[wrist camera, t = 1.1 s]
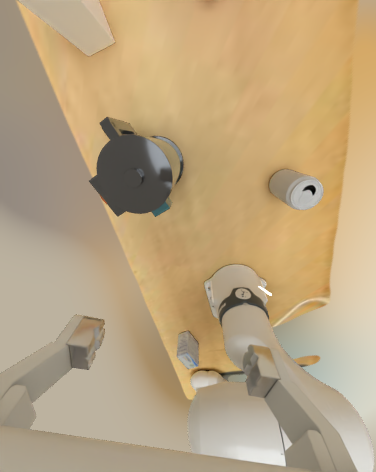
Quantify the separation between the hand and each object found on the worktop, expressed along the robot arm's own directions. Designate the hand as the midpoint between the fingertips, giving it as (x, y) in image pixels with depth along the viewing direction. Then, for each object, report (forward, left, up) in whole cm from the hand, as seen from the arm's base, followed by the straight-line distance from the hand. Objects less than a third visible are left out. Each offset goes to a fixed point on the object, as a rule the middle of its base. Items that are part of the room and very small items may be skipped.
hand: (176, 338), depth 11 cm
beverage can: (0, -21, -41) cm, 46 cm away
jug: (+6, +9, -41) cm, 42 cm away
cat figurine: (-78, -2, -41) cm, 88 cm away
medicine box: (-56, +5, -41) cm, 70 cm away
